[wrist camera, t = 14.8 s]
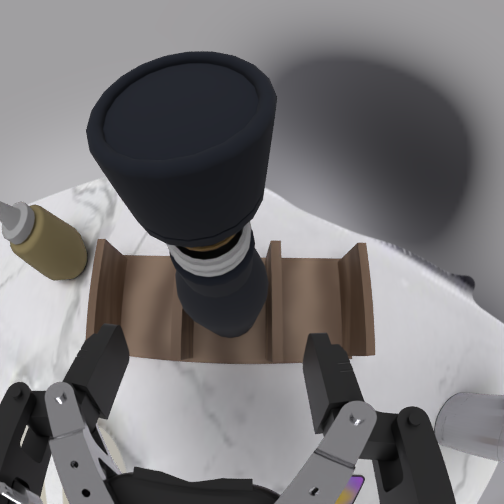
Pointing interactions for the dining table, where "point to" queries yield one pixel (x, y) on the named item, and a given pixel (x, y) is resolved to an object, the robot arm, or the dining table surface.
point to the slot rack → (266, 325)
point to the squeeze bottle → (43, 240)
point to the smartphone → (351, 490)
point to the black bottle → (194, 173)
